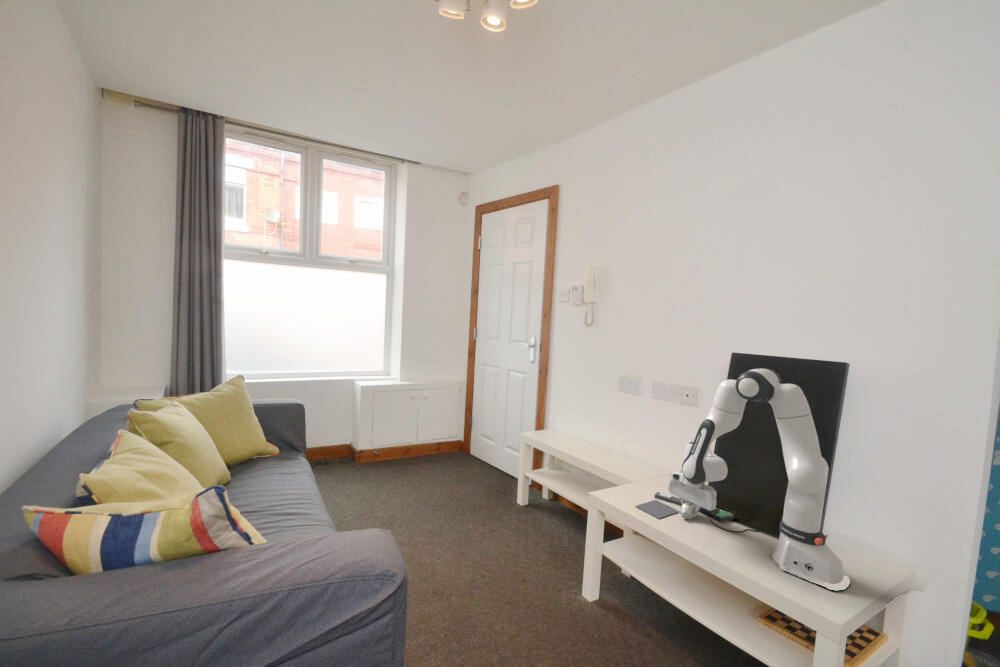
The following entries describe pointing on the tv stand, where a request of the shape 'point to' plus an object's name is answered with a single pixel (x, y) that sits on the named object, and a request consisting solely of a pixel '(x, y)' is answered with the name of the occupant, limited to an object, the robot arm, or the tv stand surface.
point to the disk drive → (717, 514)
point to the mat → (657, 509)
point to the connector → (688, 510)
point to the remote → (668, 498)
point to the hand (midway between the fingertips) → (689, 511)
